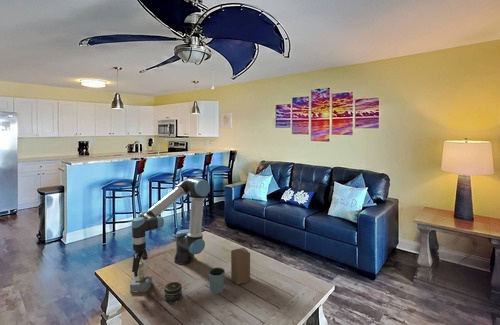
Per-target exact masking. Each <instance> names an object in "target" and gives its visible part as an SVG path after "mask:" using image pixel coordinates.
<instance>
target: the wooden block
mask: <svg viewBox="0 0 500 325" xmlns="http://www.w3.org/2000/svg"><path fill="white" fill-rule="evenodd" d="M230 252H231V253H230V256H231V257H230V258H231V259H230V263H231V264H230V267H231V268H230V269H231V270H230V271H231V272H230V274H231V276H230V277H231V279H232V280H233V282H234V283H235V284H236V285H241V284H245V283H249V282H250V281H251V252H249V251H248V250H247V249H246V248H245V247H240V248H236V249H232V250H231V251H230Z"/></svg>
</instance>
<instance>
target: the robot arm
mask: <svg viewBox="0 0 500 325" xmlns="http://www.w3.org/2000/svg"><path fill="white" fill-rule="evenodd" d="M175 186H176V187H175V188H174V189H173V190H171V191H170V192H169V193H168V194H166V195H165V196H164V197H162V198H161V199H160V200H159V201H158V202H156V203H154V205H152V206H151V207H150V208H149V209H147V210H146V211H141V212H140V213H139V214H138V216H137V217H134V218H132V220H131V235H132V236H131V239H132V250H133V251H135V253H134V254H133V260H132V269H131V273H133V280H134V281H139V270H138V268H139V263H140V262H144V270H148V265H147V260H148V258H149V257H148V252H147V243H146V241H147V238H146V236H147V235H146V232H151V231H154V230H159V229H162V228H164V226H165V220H164V218H163V216H161V214H162V213H163V212H164V211H166V210H167V209H168V208H170V207H171V206H172V205H173V204H175V203H176V202H177V201H178V200H179V199H181V198H182V197H184V196H186V195H188V194H189V198H190V199H191V204H190V215H189V226H188V227H189V228H188V229H181V230H178V231H176V233H175V245H176V246H175V248H176V250H175V254H174V258H173V261H174V263H176V264H177V265H178V264H179V265H186V264H190V263H193V262H194V261H195V255H198V254H200V253H202V251H204V249H205V248H206V241H205V240H204V239H203V235H204V234H203V233H202V224H203V213H204V212H203V211H204V203H205V202H204V201H205V199H206V198H207V195H208V194H209V193H210V190H211V186H210V183H209V182H208V181H207V180H206V179H203V178H199V177H194V176H190V177H187V178H185V179H184V180H182V181H181V182H179V183H178V184H177V185H175Z"/></svg>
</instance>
